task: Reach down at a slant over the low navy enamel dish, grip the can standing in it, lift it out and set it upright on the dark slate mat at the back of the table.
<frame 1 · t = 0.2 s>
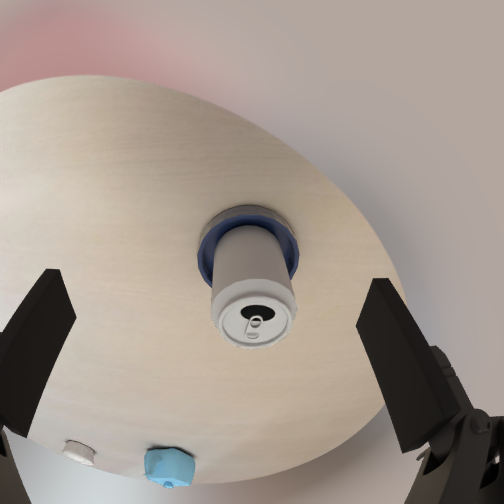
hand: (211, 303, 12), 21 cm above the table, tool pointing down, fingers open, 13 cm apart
teapot: (167, 450, 67), on the table
dish: (247, 249, 35), on the table
can: (247, 250, 34), resting on dish
ramekin: (80, 445, 70), on the table
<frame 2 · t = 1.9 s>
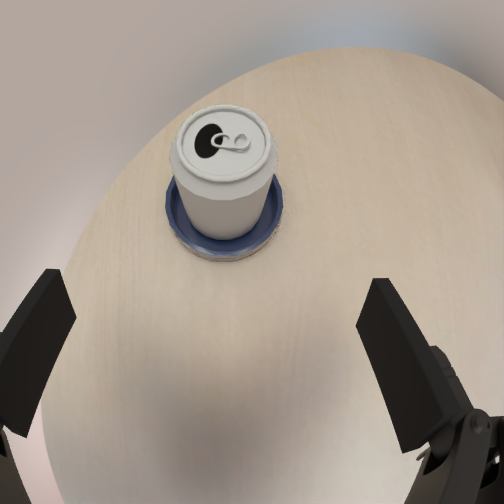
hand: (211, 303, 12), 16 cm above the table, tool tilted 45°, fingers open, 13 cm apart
dish: (224, 207, 30), on the table
can: (224, 207, 30), resting on dish
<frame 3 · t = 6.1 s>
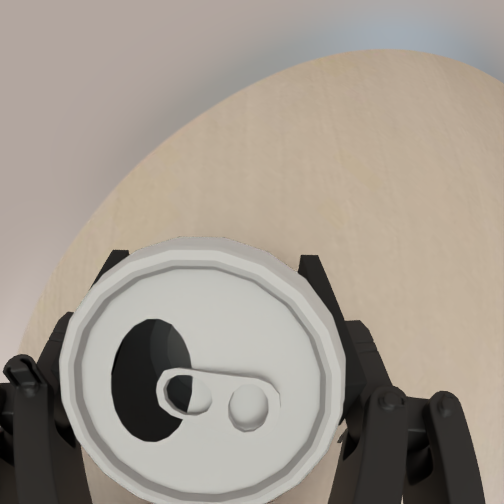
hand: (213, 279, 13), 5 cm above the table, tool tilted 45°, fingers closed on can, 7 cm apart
can: (216, 348, 17), resting on dish, touching gripper
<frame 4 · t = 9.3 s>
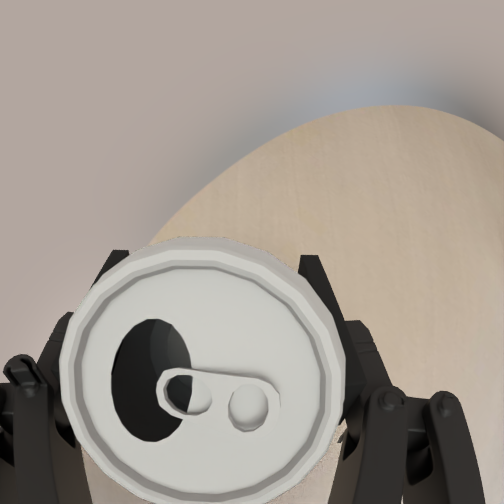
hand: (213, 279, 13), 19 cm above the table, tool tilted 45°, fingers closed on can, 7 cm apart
can: (216, 348, 17), point 14 cm above the table, touching gripper
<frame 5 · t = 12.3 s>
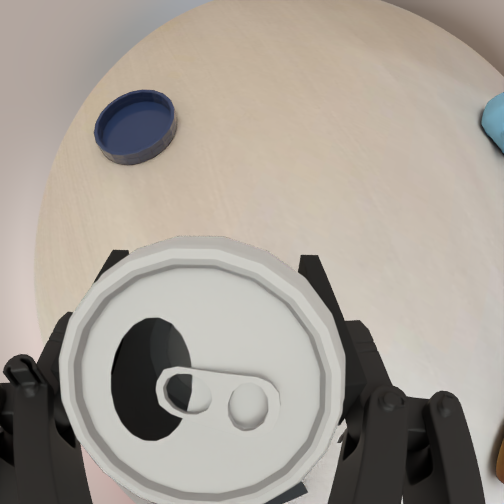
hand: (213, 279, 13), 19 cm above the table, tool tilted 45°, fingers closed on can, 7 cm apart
teapot: (496, 139, 43), on the table
dish: (137, 130, 36), on the table
can: (216, 348, 17), point 14 cm above the table, touching gripper
mat: (232, 480, 27), on the table
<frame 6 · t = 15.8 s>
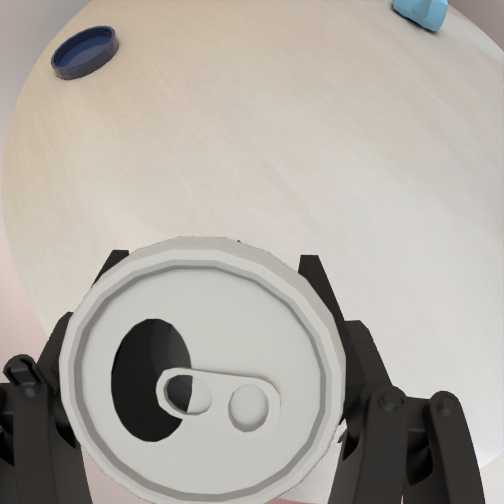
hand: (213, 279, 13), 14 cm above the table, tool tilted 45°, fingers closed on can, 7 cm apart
teapot: (412, 19, 44), on the table
dish: (86, 56, 33), on the table
can: (216, 348, 17), point 10 cm above the table, touching gripper
when the fingers open (5 cm above the table, at t = 18.7 s): can stays where it is, resting on mat.
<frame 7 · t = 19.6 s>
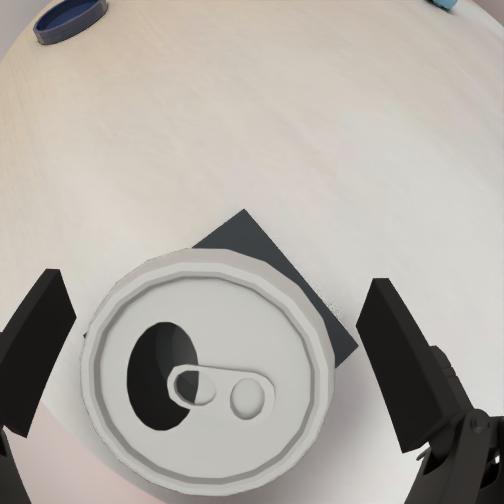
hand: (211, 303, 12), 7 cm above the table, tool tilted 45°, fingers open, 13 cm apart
dish: (72, 21, 26), on the table
can: (217, 348, 18), resting on mat
mat: (218, 347, 18), on the table
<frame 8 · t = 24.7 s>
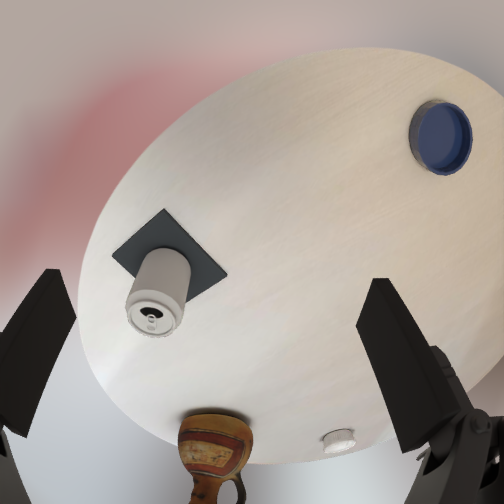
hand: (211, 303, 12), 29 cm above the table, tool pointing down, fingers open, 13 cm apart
dish: (437, 135, 35), on the table
can: (167, 265, 44), resting on mat
ceramic pitcher: (215, 420, 72), on the table
ramekin: (337, 434, 84), on the table
mat: (168, 264, 45), on the table
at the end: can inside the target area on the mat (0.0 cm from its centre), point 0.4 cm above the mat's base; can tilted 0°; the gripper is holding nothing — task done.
